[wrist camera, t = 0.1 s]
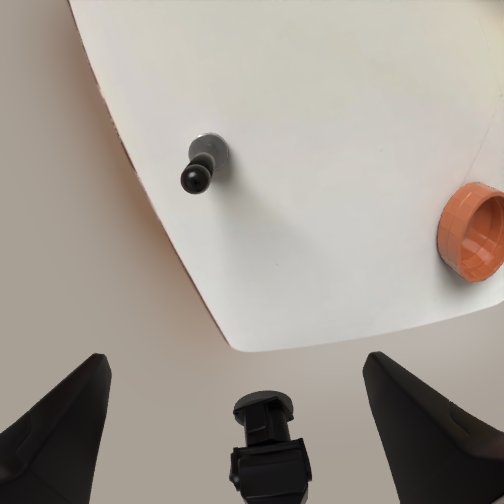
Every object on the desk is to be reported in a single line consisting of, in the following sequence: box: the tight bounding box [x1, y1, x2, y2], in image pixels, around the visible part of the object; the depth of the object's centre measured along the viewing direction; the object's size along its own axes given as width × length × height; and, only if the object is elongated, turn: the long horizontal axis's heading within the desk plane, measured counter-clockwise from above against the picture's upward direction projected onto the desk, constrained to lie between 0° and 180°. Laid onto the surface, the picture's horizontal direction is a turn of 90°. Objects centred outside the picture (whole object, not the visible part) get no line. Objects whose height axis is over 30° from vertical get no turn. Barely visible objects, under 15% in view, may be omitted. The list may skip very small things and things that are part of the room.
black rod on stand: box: [181, 133, 228, 194], centre depth 19 cm, size 3×3×13 cm
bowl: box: [437, 182, 504, 283], centre depth 28 cm, size 11×11×4 cm
